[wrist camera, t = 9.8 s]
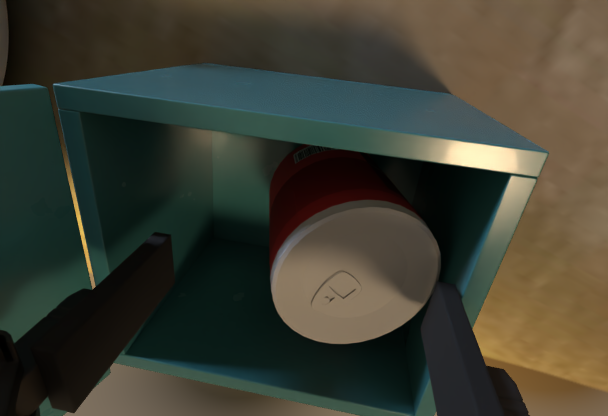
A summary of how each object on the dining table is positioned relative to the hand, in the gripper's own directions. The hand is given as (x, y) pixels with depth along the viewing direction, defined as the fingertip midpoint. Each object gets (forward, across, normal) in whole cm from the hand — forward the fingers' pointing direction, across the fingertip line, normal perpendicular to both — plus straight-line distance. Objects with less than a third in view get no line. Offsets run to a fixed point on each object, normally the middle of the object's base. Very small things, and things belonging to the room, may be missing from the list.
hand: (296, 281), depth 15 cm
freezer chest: (+13, -1, 0) cm, 13 cm away
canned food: (+11, 0, 0) cm, 11 cm away
